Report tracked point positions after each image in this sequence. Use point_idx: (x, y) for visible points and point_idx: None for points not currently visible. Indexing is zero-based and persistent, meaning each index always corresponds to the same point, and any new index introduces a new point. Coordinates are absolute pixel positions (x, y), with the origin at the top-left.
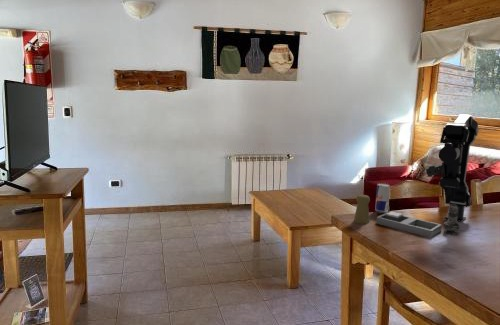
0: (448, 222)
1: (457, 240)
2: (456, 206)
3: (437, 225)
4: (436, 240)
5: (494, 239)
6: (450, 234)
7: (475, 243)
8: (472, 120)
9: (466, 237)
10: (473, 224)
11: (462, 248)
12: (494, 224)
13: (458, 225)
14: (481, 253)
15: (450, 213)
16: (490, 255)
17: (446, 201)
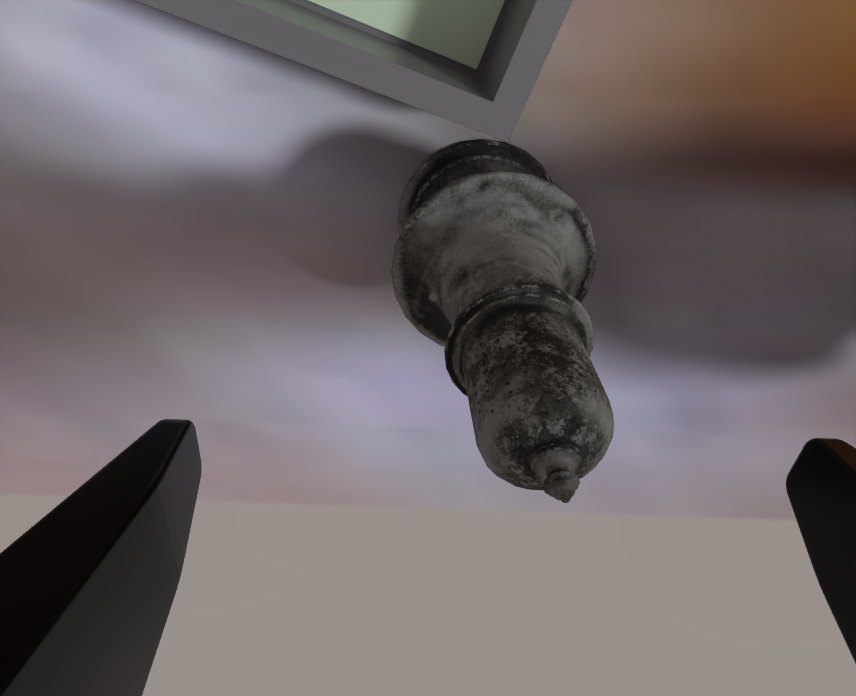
0: (458, 242)
1: (257, 271)
2: (502, 477)
3: (440, 83)
4: (96, 53)
5: (454, 504)
6: (404, 214)
7: (268, 399)
8: None
9: (402, 343)
10: (825, 401)
11: (36, 306)
12: None
13: (445, 335)
14: (29, 426)
15: (483, 327)
16: (36, 472)
17: (134, 457)
